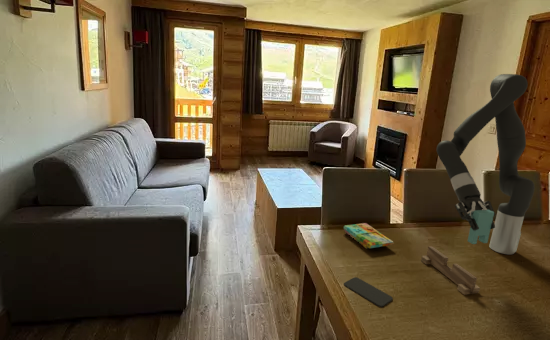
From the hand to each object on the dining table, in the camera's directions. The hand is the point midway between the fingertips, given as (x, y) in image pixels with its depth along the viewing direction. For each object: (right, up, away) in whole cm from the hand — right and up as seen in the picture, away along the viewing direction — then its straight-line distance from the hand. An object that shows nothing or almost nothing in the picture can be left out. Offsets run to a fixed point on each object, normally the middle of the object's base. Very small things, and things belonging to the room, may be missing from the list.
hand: (484, 229), depth 116 cm
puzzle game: (-34, -11, +28) cm, 45 cm away
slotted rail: (-11, -18, +4) cm, 21 cm away
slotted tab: (-1, -5, +3) cm, 6 cm away
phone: (-44, -20, -8) cm, 49 cm away
